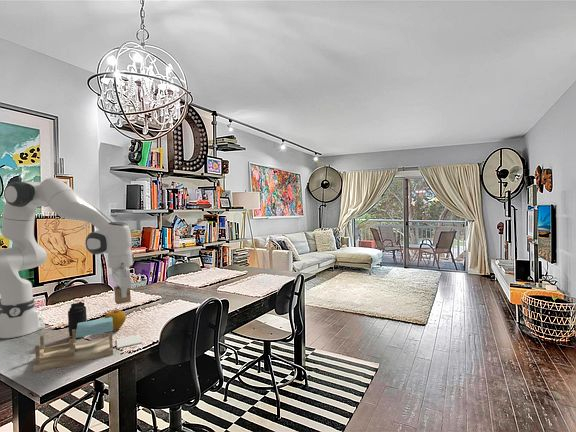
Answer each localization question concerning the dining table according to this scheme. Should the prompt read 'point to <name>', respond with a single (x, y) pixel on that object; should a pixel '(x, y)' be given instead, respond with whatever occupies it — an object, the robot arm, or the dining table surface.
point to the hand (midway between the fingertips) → (122, 295)
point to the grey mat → (128, 341)
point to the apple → (117, 318)
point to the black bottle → (76, 316)
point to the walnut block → (118, 296)
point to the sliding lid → (94, 327)
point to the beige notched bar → (71, 352)
